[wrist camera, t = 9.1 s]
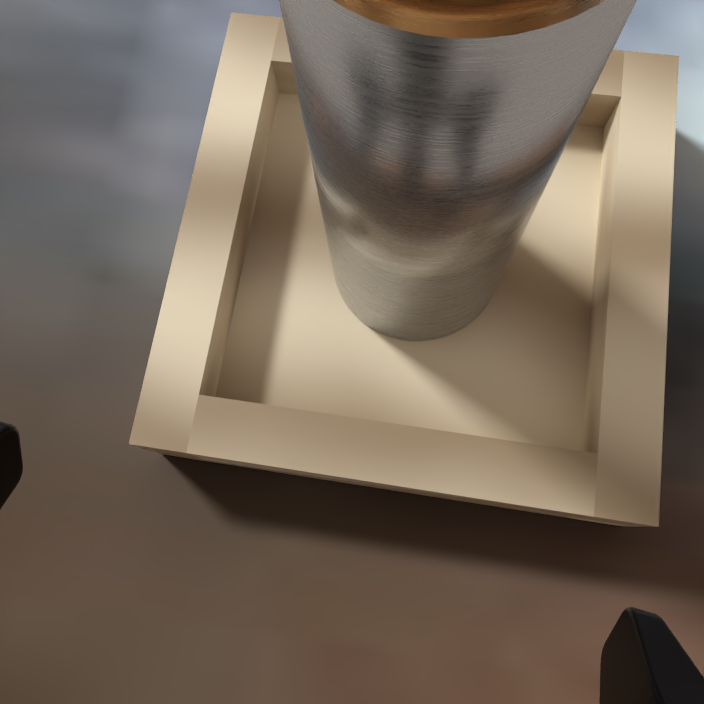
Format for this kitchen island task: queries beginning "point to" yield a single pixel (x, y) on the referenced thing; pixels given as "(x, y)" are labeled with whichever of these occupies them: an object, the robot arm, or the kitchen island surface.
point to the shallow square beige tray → (434, 355)
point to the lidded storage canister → (438, 139)
